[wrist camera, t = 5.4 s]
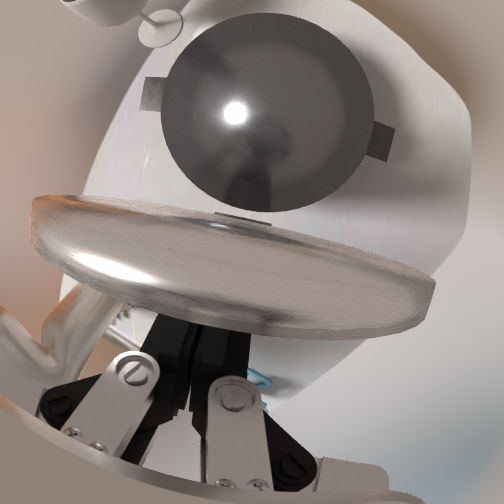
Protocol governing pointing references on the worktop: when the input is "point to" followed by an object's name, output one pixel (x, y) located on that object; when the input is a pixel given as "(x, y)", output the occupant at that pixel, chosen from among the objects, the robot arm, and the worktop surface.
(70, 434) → the robot arm
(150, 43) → the wineglass
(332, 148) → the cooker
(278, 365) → the worktop surface
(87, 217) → the lid
